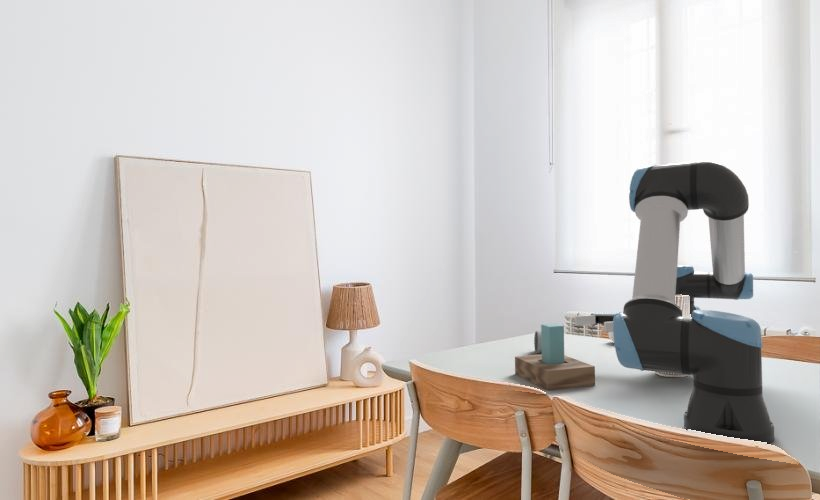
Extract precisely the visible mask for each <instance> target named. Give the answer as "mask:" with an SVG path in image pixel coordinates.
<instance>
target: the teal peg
mask: <svg viewBox="0 0 820 500" xmlns="http://www.w3.org/2000/svg"><path fill="white" fill-rule="evenodd" d="M540 328H541V329H540V331H541V341H542V362H543V363H545V364H548V365H552V364H563V363H564V355H565V330H564V329H565V327H564V325H562V324H558V323H546V324H543V323H542V324H540Z"/></svg>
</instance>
